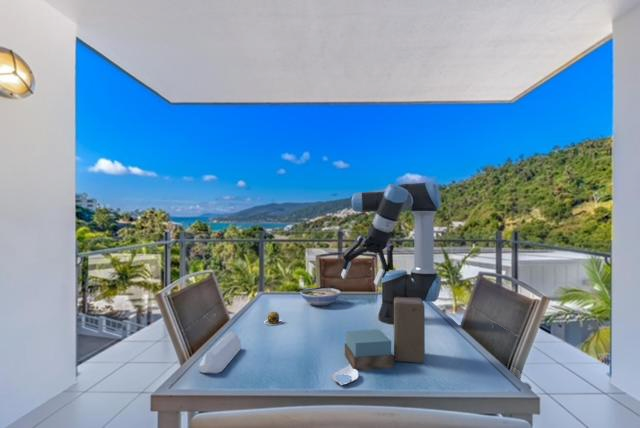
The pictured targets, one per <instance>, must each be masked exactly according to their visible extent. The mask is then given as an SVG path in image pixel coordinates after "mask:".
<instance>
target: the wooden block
mask: <svg viewBox="0 0 640 428" xmlns="http://www.w3.org/2000/svg"><path fill="white" fill-rule="evenodd" d="M425 311H426V310H425V304H424V301H422V299H421V298H413V297H395V298H394V324H393V360H395V361H396V362H406V363H415V364H416V363H417V364H424V363H425V361H426V360H425V359H426V357H425V356H426V354H425V353H426V351H425V350H426V349H425V347H426V345H425V342H426V341H425V339H426V338H425V330H426V329H425V326H426V325H425V314H426V313H425Z"/></svg>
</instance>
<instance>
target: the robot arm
mask: <svg viewBox="0 0 640 428" xmlns="http://www.w3.org/2000/svg"><path fill="white" fill-rule="evenodd" d="M441 198H442V197H441V193H440V188H439V186H438V185H437V183H435V182H419V183H417V182H416V183H403V184H393V183H390V184H388V185H387V187H386V188H385V189H383V190H381V189H380V190H375V191H373V190H372V191H364V192H362V191H360V192H355V193H353V194H352V197H351V208H352V210H353V211H354V212H357V213H366V212H367V213H372V212H375V215H374V217H373V220H372V224H371V225H370V227H369V230H368V232H367V236H366V237H363V236H362V235H360V234H358V235H357V237H356V239H355V240H354V241H353V242H352V243H350V245H349V246H348V247H346V249H344V251H343V252H341V255H340V256H341V257H342V259H343V262H342V263H343V264H342V265H341V268H342V271H341V273H340V276H341V277H342V279H343V280H345V279H346V277H347V274H348V272H349V270H350V267H351V265H352V262H351V261H352V260H354V259H356V258H358V257H359V256H361V255H362V254H364V253H367V252H368V253H374V254H377V255H378V256H379V257H378V258H379V260H380V263H381V265H382V266H379V268H378V270H377V273H376V276H375V278H374V280H373V283H374V285H375V286H376V287H379V285H380V283H381V305H380V308H379V312H378V318H377V319H378V320H379V321H380V322H381V323H386V324H391V325H394V298H395V297H413V298H421V299H422V301H423V302H425V303H426V302H432V303H434V302H436V301H437V300H438V298H439V296H440V291H441V285H442V279H441V278H442V277H441V276H439V275H438V271H437V270H436V269H435V267H434V263H435V262H434V256H435V255H434V249H435V248H434V246H435V245H434V241H435V239H434V233H435V231H434V230H435V229H434V223H435V222H434V221H435V220H434V219H435V217H434V216H435V215H436V214H437V212H438V209H440V208H441V206H442V200H441ZM409 209H410V213H411V214H412V215H413V216H414V220H413V221H414V231H413V232H414V233H413V234H414V236H413V241H414V242H413V245H414V246H413V247H414V249H413V252H414V253H413V256H414V258H413V262H414V263H413V266H414V267H413V268H412V269H411V270H410V273H408V271H407V270H404V269H402V270H401V269H399V270H394V255H393V253H394V248H395V246H394V245H393V244H392V243H391V242H389V240H390V238H391V236H392V232H394V231H393V230H394V229H395V226H396V223H397V221H398V219H399V217H400V214H401V213H402V212H403V213H404V212H406V211H407V210H409ZM388 242H389V243H388ZM384 249H386V258H385V253H384Z"/></svg>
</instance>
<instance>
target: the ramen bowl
mask: <svg viewBox="0 0 640 428" xmlns="http://www.w3.org/2000/svg"><path fill="white" fill-rule="evenodd" d="M297 292H300V295H301V297H302V298H303V299H304V301H306V302H307V303H309V304H311V305H314V306H315V307H325V306H328V305H329V304H331V303H334V302H336V300H337V299H338V298H339V296H340V295H341V290H339V289H336V288H335V285H328V286H321V287H311V288H310V287H308V288H305V289H299V290H298V289H297Z"/></svg>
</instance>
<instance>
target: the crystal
mask: <svg viewBox="0 0 640 428" xmlns="http://www.w3.org/2000/svg"><path fill="white" fill-rule="evenodd" d="M241 349H242V343H241V340H240V338H239V336H238V334H237V333H235V332H234V331H233V330H230V331H229V332H228V333H227V334H225V335H224V336H223V337H222V338H221V339H220V340H219V341H218V342H217V343H216V344H214V346H213V347H212V348H210V349H209V351H208V352H206V354H204V355H203V358H202V359H201V361H200V363H199V365H198V371H199V372H200V373H202V374H214V375H215V374H219V373H221V372H223V371H224V369H225V368H226V367H227V366H228V364H230V362H231V361H232V359H234V357H235V356H236V355H237V354H238V353H239V351H241Z"/></svg>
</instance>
